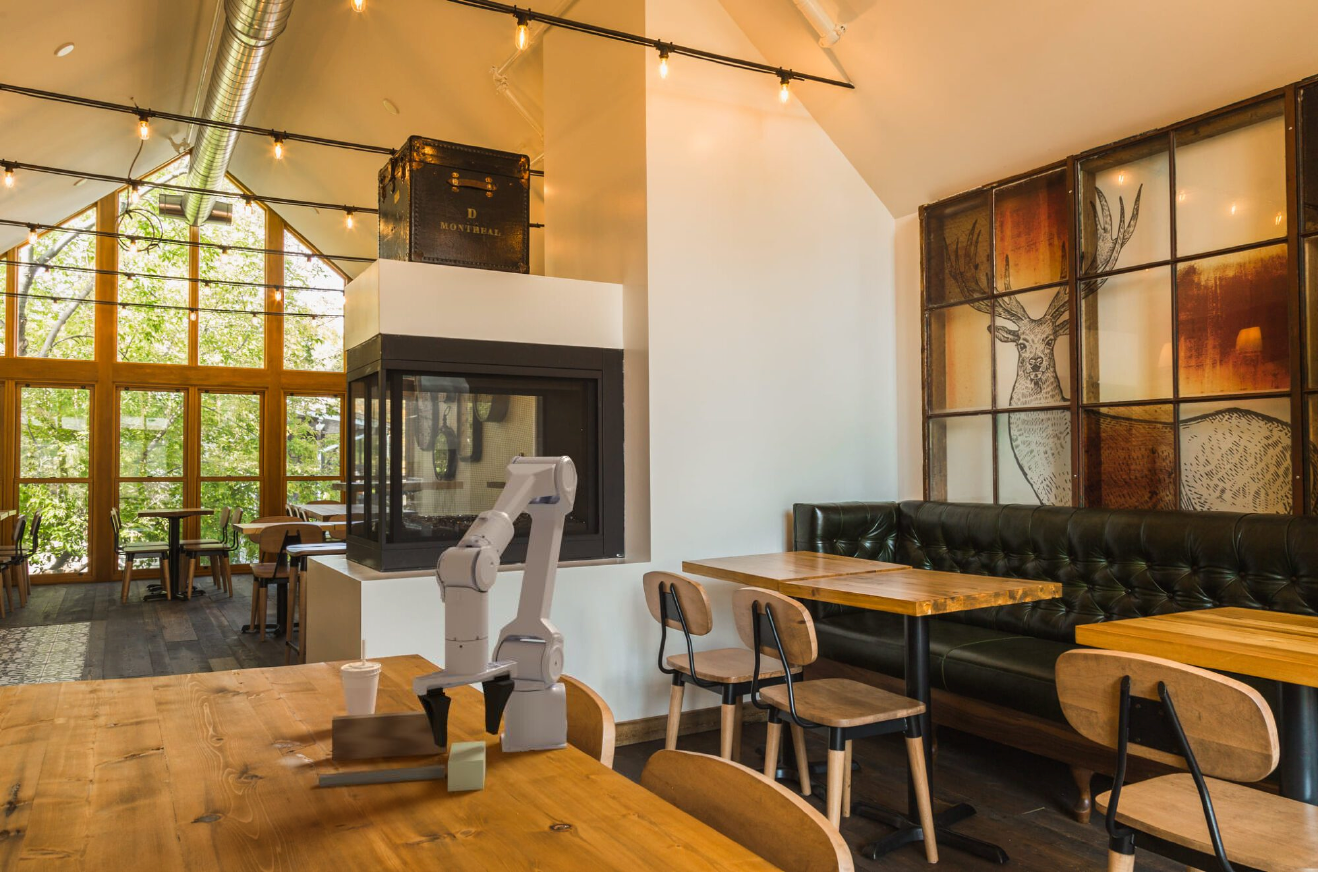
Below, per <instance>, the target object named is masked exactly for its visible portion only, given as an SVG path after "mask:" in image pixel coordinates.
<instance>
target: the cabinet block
mask: <svg viewBox="0 0 1318 872" xmlns="http://www.w3.org/2000/svg"><path fill="white" fill-rule="evenodd" d="M485 778H486V740H480V741H463V742H462V741H460V742H452V743H451V746H450V752H449V756H448V759H447V792H459V791H475V790H479V791H480V790H484V788H485V787H484V786H485Z"/></svg>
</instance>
